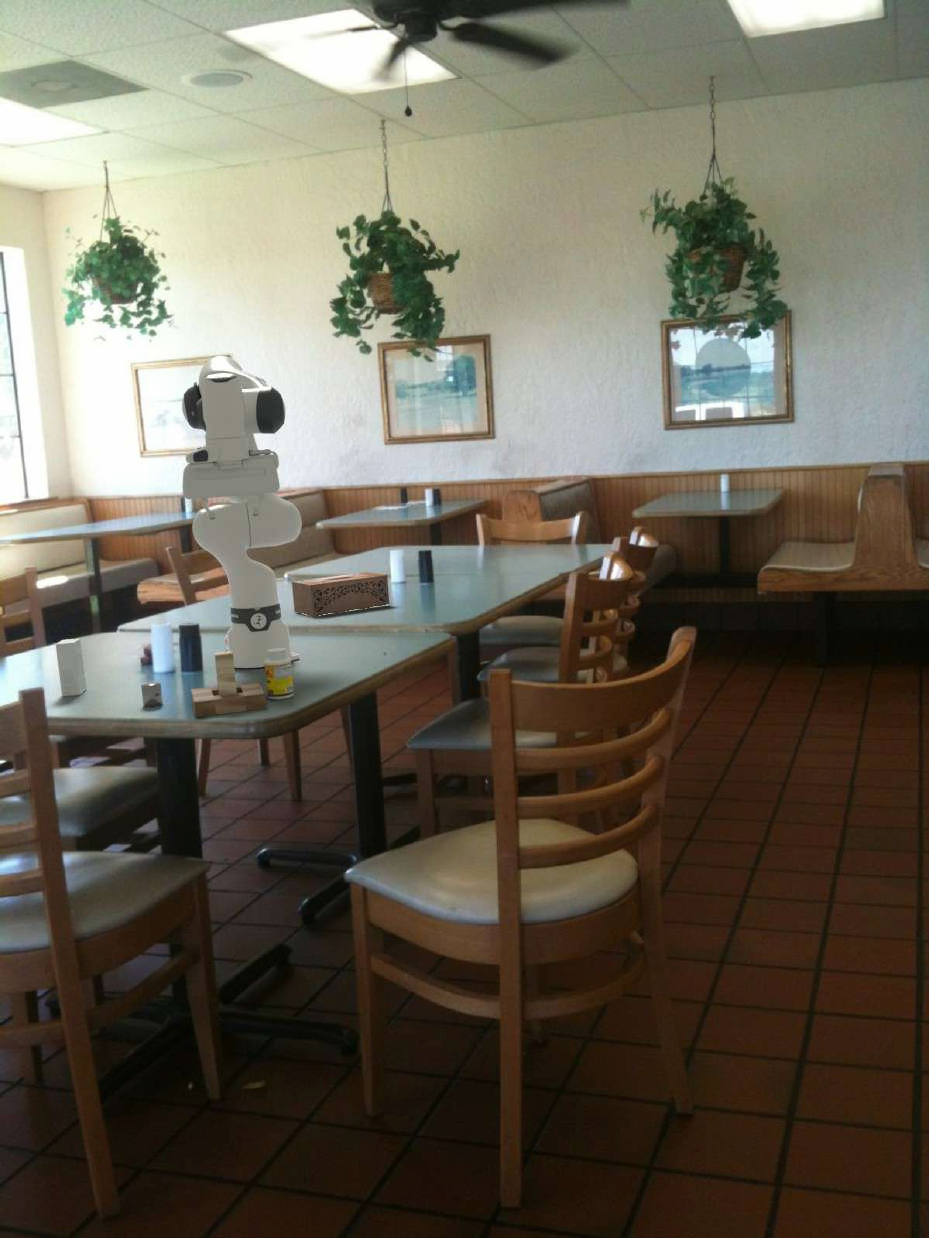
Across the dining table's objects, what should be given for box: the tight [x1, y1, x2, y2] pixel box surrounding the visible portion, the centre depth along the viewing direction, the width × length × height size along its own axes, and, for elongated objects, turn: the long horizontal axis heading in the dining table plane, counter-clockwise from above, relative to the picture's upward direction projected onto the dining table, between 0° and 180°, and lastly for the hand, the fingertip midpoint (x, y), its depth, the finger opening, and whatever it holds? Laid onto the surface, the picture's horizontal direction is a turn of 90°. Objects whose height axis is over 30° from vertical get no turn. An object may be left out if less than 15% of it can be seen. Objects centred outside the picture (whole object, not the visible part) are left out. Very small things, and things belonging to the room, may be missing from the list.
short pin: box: [140, 681, 164, 708], centre depth 264 cm, size 4×4×4 cm
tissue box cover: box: [291, 571, 390, 617], centre depth 389 cm, size 26×14×10 cm, turn 120°
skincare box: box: [55, 638, 87, 697], centre depth 282 cm, size 6×4×12 cm
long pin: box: [213, 651, 237, 695], centre depth 258 cm, size 4×4×11 cm
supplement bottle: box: [264, 648, 295, 701], centre depth 263 cm, size 6×6×10 cm
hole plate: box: [190, 681, 267, 718], centre depth 258 cm, size 14×14×3 cm
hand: (234, 517), depth 267 cm, fingers open, 8 cm apart
